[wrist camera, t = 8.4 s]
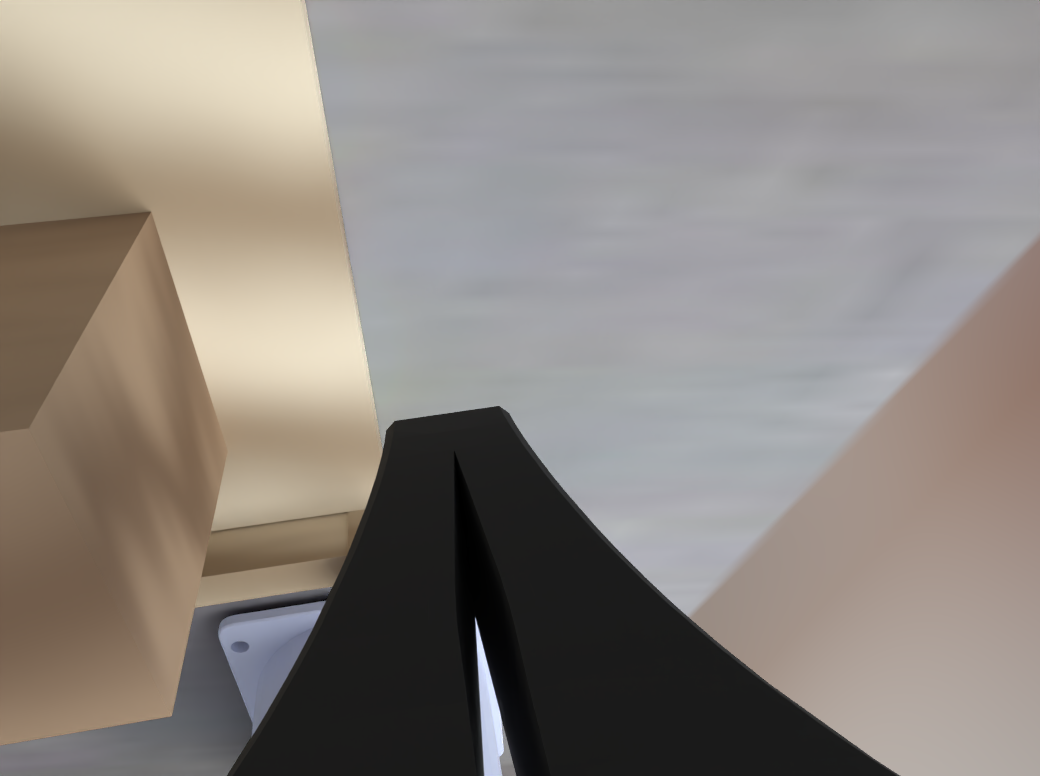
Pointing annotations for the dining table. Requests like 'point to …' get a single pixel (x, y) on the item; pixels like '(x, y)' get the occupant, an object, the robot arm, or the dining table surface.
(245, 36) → the cart bed
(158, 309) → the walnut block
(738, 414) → the dining table surface
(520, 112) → the dining table surface
